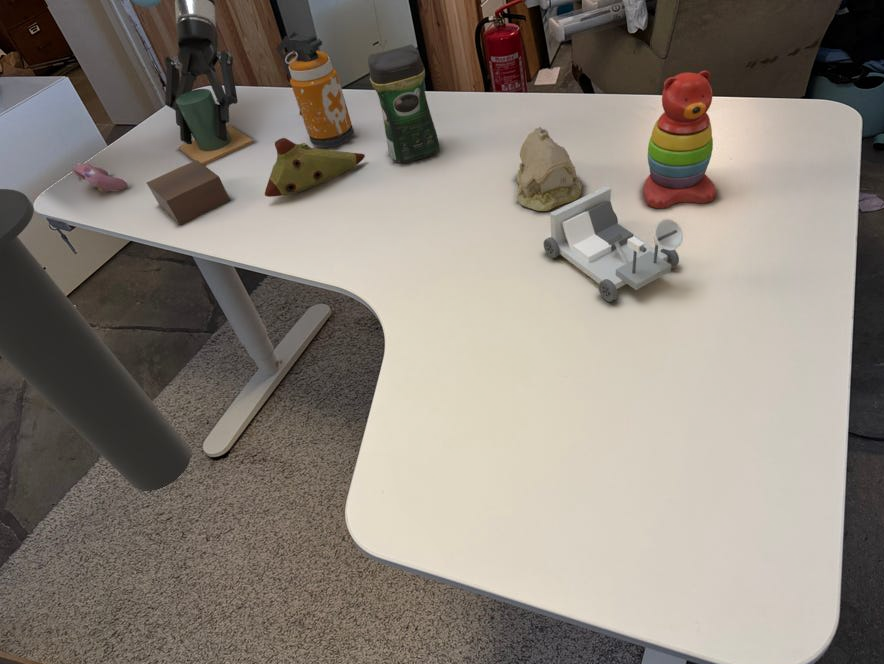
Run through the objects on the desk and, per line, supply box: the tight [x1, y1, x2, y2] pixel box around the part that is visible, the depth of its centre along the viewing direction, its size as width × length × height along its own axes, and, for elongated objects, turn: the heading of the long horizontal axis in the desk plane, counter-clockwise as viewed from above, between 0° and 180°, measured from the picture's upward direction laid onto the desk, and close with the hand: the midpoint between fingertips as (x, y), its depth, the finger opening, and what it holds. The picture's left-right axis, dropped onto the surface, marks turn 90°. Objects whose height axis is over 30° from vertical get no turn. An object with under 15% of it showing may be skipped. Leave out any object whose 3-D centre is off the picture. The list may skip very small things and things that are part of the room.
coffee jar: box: [367, 44, 440, 164], centre depth 109 cm, size 10×8×19 cm
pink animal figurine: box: [71, 162, 128, 193], centre depth 119 cm, size 10×5×7 cm, turn 50°
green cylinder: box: [176, 88, 232, 151], centre depth 124 cm, size 7×7×10 cm
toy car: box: [543, 185, 684, 303], centre depth 82 cm, size 18×10×12 cm
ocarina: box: [264, 137, 366, 198], centre depth 108 cm, size 20×5×10 cm, turn 125°
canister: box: [275, 31, 355, 148], centre depth 117 cm, size 9×11×20 cm
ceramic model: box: [516, 126, 583, 212], centre depth 98 cm, size 14×11×10 cm
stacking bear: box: [642, 70, 717, 209], centre depth 90 cm, size 11×10×18 cm
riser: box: [146, 160, 231, 226], centre depth 111 cm, size 10×10×5 cm
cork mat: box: [177, 124, 254, 166], centre depth 128 cm, size 12×12×1 cm
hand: (204, 140), depth 124 cm, fingers open, 7 cm apart
